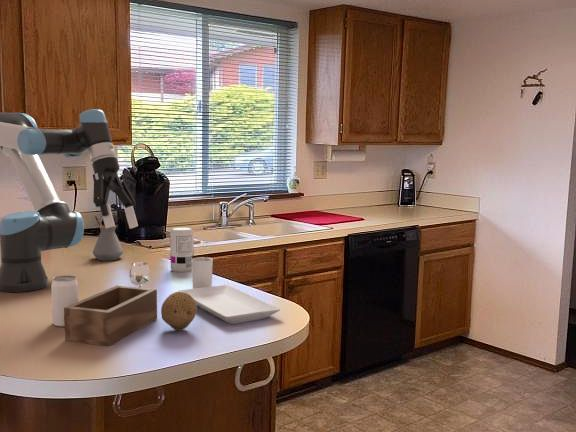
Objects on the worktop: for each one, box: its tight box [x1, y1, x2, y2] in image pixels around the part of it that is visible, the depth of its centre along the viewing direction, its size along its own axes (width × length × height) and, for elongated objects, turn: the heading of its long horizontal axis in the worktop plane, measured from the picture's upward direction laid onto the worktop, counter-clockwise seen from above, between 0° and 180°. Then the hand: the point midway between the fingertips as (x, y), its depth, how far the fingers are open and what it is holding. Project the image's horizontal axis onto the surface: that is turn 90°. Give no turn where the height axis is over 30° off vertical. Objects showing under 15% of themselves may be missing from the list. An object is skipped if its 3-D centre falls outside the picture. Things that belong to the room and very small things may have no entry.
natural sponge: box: [160, 291, 198, 332], centre depth 157 cm, size 9×9×10 cm
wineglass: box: [128, 261, 151, 288], centre depth 180 cm, size 6×6×12 cm
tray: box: [178, 284, 281, 325], centre depth 177 cm, size 17×32×4 cm, turn 33°
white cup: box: [191, 256, 214, 289], centre depth 197 cm, size 7×7×10 cm
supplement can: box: [169, 226, 195, 273], centre depth 226 cm, size 8×8×15 cm
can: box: [50, 275, 79, 328], centre depth 161 cm, size 6×6×12 cm
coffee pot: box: [92, 215, 124, 262], centre depth 247 cm, size 21×12×15 cm, turn 33°
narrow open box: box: [64, 285, 158, 347], centre depth 158 cm, size 12×23×8 cm, turn 164°
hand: (122, 227), depth 187 cm, fingers open, 13 cm apart
